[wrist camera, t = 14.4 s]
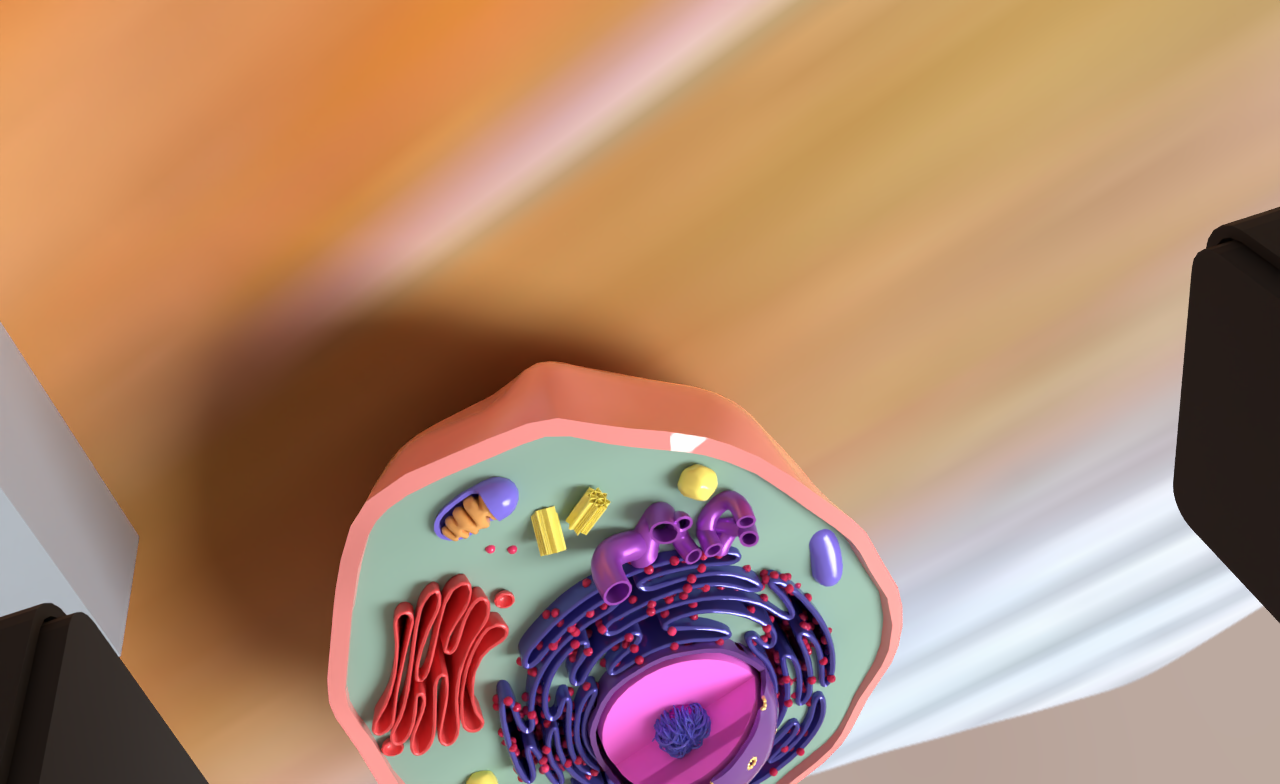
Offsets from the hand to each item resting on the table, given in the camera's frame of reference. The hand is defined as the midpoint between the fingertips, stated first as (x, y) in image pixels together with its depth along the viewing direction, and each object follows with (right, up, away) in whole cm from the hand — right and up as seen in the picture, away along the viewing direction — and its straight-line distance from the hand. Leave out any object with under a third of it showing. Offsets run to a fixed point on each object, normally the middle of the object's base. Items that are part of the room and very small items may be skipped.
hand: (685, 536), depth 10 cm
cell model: (-3, -3, +34) cm, 34 cm away
